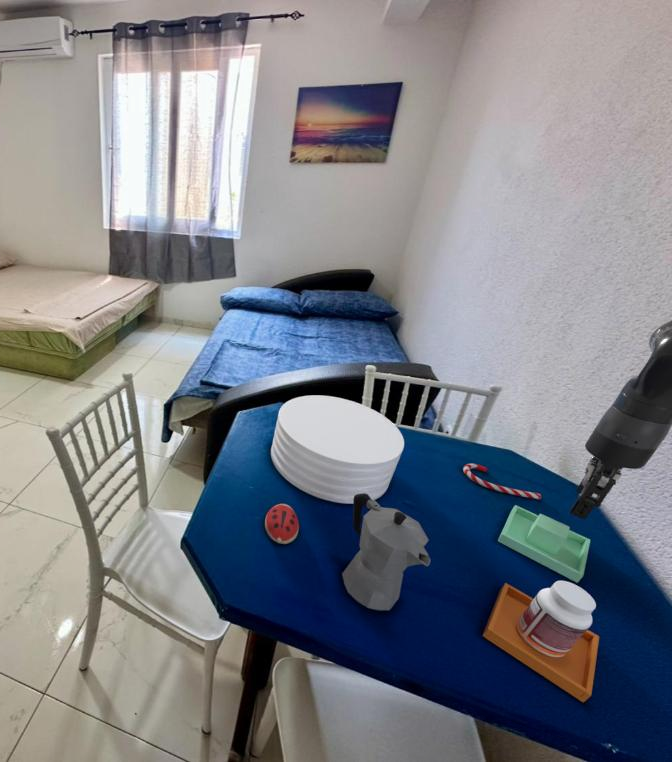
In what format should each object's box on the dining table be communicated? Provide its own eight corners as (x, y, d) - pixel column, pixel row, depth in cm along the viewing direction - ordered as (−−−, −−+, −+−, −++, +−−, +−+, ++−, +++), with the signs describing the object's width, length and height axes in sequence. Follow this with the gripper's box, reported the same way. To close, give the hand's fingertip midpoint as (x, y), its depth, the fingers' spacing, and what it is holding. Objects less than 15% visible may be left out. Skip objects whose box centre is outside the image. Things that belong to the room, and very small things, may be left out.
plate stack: (282, 420, 119) (289, 385, 113) (388, 448, 108) (402, 412, 103) (259, 478, 96) (266, 439, 91) (389, 521, 86) (407, 480, 80)
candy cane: (543, 503, 90) (463, 475, 98) (540, 507, 91) (461, 479, 98) (540, 484, 96) (464, 459, 103) (537, 488, 97) (462, 463, 104)
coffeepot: (420, 615, 68) (461, 541, 59) (373, 630, 66) (410, 555, 57) (357, 541, 81) (384, 472, 72) (316, 551, 79) (339, 481, 70)
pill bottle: (575, 656, 62) (616, 613, 57) (541, 661, 62) (579, 618, 56) (537, 616, 68) (571, 574, 63) (505, 621, 67) (537, 578, 62)
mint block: (558, 543, 82) (570, 526, 79) (554, 555, 79) (566, 539, 77) (529, 529, 85) (540, 513, 82) (525, 540, 82) (536, 524, 80)
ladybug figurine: (298, 514, 87) (301, 502, 85) (297, 551, 78) (300, 539, 77) (266, 506, 88) (269, 494, 87) (262, 542, 80) (264, 529, 78)
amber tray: (592, 643, 65) (599, 636, 64) (583, 703, 58) (591, 695, 57) (500, 590, 73) (505, 582, 72) (482, 636, 65) (487, 628, 64)
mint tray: (584, 546, 82) (590, 539, 81) (577, 583, 74) (583, 575, 73) (510, 511, 90) (515, 504, 89) (497, 541, 82) (502, 534, 81)
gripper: (659, 462, 63) (603, 536, 70) (660, 428, 71) (610, 497, 79) (592, 440, 68) (547, 511, 75) (601, 410, 76) (560, 477, 84)
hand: (580, 504), depth 77 cm, fingers open, 8 cm apart
